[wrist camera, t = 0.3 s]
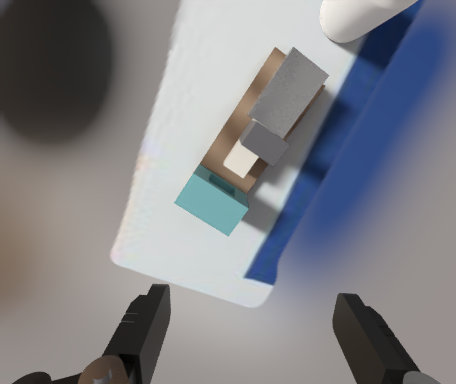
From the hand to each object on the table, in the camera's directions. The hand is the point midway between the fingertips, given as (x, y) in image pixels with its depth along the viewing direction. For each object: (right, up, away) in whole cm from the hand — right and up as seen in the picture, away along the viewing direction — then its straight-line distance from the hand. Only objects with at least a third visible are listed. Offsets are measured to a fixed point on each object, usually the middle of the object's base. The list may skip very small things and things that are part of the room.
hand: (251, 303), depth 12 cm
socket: (-3, +5, +24) cm, 25 cm away
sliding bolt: (+3, +14, +20) cm, 24 cm away
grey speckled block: (+6, +17, +20) cm, 27 cm away
